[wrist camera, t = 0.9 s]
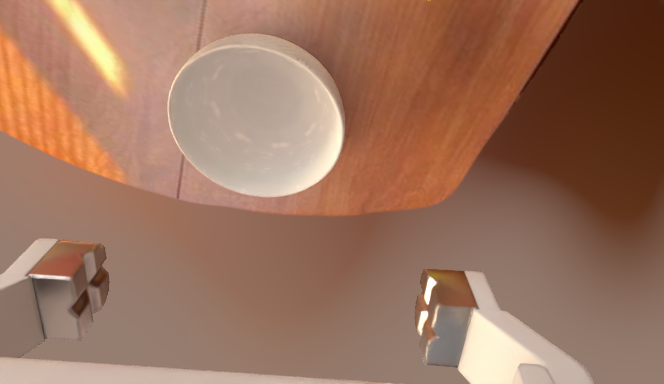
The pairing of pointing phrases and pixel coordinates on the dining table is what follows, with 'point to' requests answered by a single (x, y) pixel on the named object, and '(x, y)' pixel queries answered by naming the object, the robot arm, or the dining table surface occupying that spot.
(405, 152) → the dining table surface
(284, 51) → the cereal bowl
